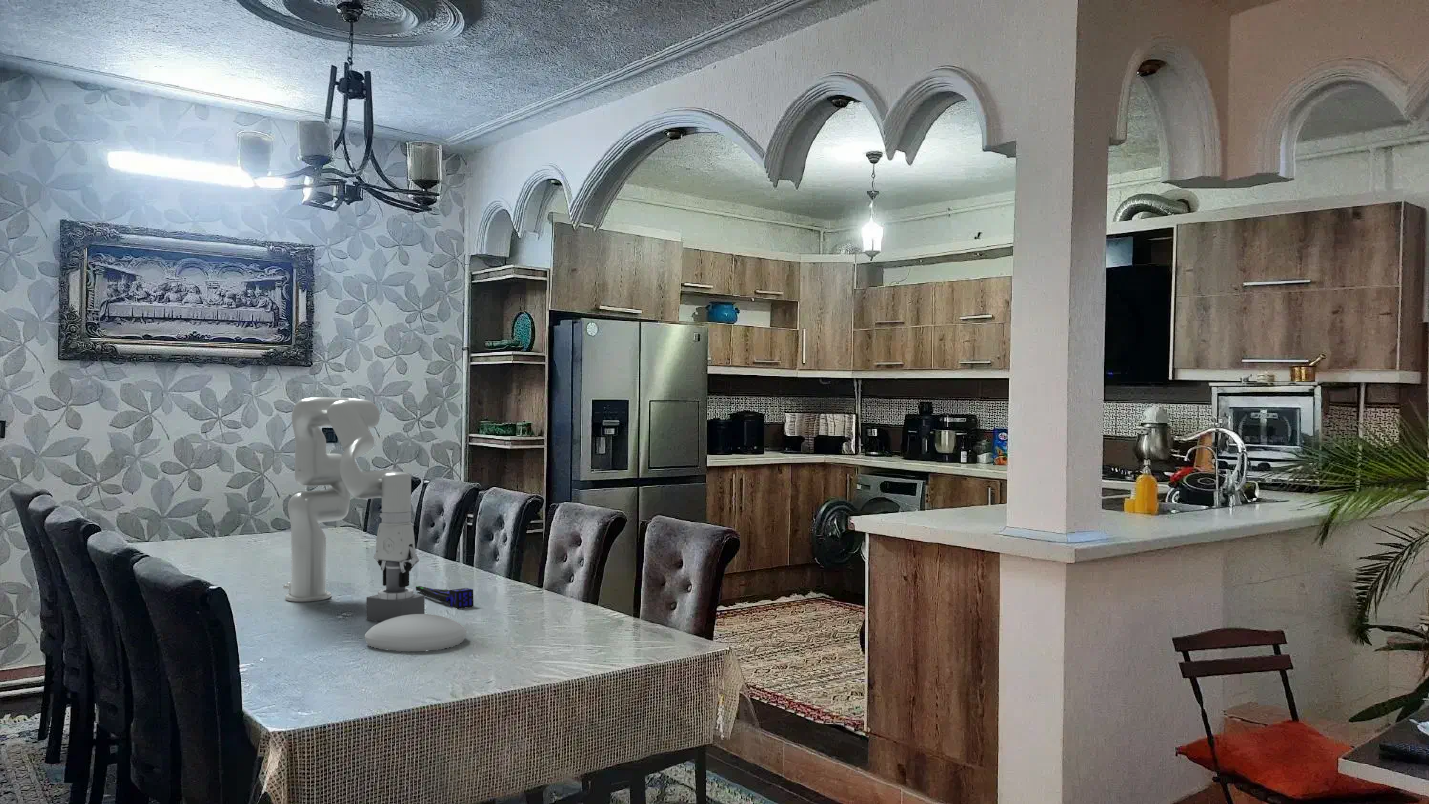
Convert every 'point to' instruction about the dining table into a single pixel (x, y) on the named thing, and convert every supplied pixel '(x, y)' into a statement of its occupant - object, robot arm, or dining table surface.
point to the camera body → (394, 604)
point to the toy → (451, 596)
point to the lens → (393, 577)
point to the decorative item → (416, 633)
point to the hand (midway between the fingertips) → (395, 585)
